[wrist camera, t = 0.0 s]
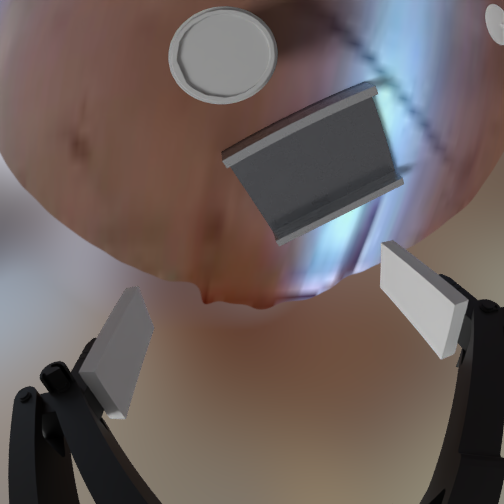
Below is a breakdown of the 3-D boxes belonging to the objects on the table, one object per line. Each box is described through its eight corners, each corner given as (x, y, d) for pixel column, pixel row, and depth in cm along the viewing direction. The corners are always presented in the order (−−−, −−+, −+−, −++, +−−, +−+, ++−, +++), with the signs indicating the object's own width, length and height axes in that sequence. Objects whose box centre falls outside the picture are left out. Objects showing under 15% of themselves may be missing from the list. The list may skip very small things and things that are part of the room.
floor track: (275, 233, 48) (279, 246, 46) (221, 151, 38) (222, 161, 36) (393, 174, 43) (404, 184, 41) (363, 81, 33) (375, 86, 31)
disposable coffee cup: (188, 13, 26) (176, -1, 17) (267, 24, 28) (291, 16, 19) (176, 84, 31) (159, 102, 22) (251, 93, 34) (267, 114, 24)
